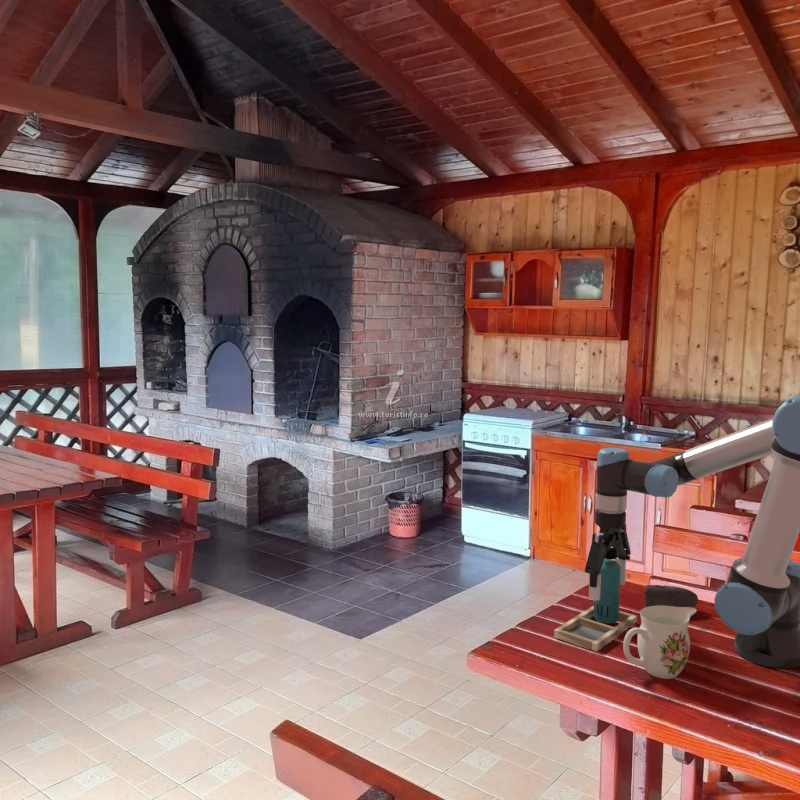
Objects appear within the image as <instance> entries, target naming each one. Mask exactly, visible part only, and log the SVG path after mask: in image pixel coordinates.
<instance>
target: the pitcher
mask: <svg viewBox="0 0 800 800" xmlns="http://www.w3.org/2000/svg"><path fill="white" fill-rule="evenodd" d="M697 612H698V610H697V608H695V607H694V608H692V607H673V606H650V607H646V606H645V607H644V608H642V609H640V611H639V613H640V619H641V624H640V626H639V627H633V628H632V627H631V628H630V629H628V630H627V631H626V634H625V636H624V638H623V648H622V649H623V650H622V651H623V653H624V656H625V658H626V659H627V660H628V661H629V663H631V664H633V665H635V666H639V667H641V666H643V667H644V669H645V670H646V673H648V674H649V675H650V676H653V677H655V678H658V679H663V680H670V679H675V678H677V677H678V675H680V674H681V672H683V669H684V668H685V667H686V664H687V663H688V662H687V661H688V659H689V654H690V649H691V639H690V634H689V631H688V627H689V623H690V620H691V617H693V616H694V615H695V614H696V613H697ZM635 635H637V642H636V643H637V651H638V656H639V658H636V657H634V656H633V655H632V654H631V651H630V643H631V640H632V638H633V637H634V636H635Z"/></svg>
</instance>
